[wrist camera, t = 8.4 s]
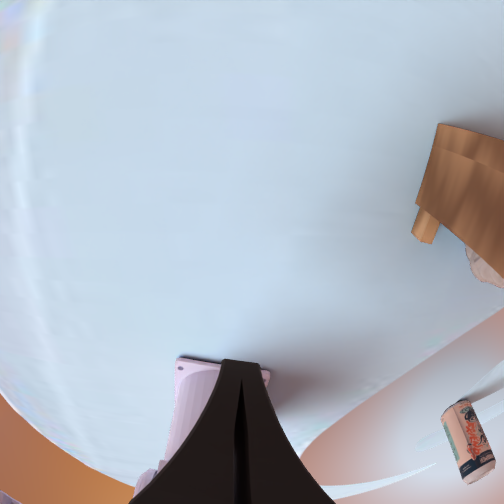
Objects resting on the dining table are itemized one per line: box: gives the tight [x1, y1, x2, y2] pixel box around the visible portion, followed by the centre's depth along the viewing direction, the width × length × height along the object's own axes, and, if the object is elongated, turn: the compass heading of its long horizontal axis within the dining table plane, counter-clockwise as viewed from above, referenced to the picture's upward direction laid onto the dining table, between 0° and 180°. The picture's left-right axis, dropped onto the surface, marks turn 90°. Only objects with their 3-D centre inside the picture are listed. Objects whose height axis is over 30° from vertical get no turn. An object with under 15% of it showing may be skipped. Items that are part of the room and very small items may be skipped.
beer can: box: [441, 400, 496, 484], centre depth 25 cm, size 5×5×12 cm
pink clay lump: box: [465, 244, 504, 288], centre depth 15 cm, size 6×7×7 cm
